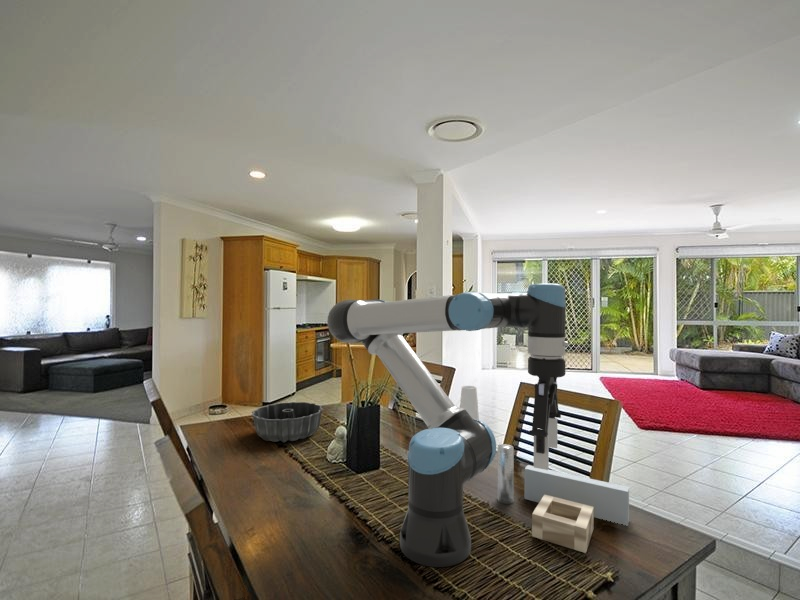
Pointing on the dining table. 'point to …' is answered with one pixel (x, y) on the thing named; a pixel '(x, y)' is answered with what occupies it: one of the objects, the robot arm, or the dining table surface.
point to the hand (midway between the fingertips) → (546, 457)
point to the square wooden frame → (563, 522)
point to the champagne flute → (470, 401)
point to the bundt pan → (287, 421)
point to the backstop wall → (579, 492)
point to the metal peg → (505, 473)
